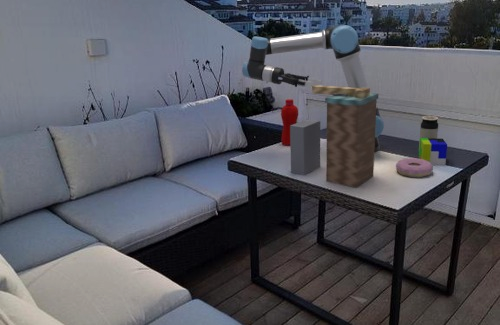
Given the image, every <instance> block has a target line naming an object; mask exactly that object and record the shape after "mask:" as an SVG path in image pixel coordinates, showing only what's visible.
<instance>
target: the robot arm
mask: <svg viewBox="0 0 500 325" xmlns="http://www.w3.org/2000/svg"><path fill="white" fill-rule="evenodd" d="M313 49H314V50H317V49H324V50H332V51H333V54H334V57H335V59H336V60H337V61H339V62H340V65H341V68H342V71H343V75H344V78H345V81H346V85H347V87H349V88H369V86H368V82H367V78H366V74H365V72H364V69H363V66H362V62H361V59H360V53H361V46H360V44H359V34H358V32H357V30H355V29H354V28H353V27H352V26H350V25H348V24H338V25H337V26H333V27H330V28H324V29H322V31H317V32H310V33H302V34H295V35H287V36H280V37H274V38H266V37H261V36H253V37H252V38H251V43H250V51H249V59H248V60H246V61H244V63H243V64H242V67H241V68H242V69H241V73H242V76H244V77H246V78H249V79H251V80H258V81H263V82H265V84H268V83H272V84H275V85H281V84H282V83H285V84H288V85H291V86H294V87H295V88H297V87H298V86H299V87H303V88H307V89H311V90H312V86H315V85H320V86H322V79H317V78H312V77H310V75H307V76H303V75H297V74H291V73H290V72H289V73H288V72H287V73H285V69H284V68H281V67H276V66H272V65H268V64H265V62H266V57H267V55H273V54H274V55H275V54H276V55H277V54H281V53H282V54H284V53H285V54H286V53H291V52H298V51H299V52H300V51H307V50H313ZM384 124H385V123H384V120H383V119H382V117H381V114H380V110H379V107H378V105H377V104H376V126H375V149H374V153H376V152H378V151H380V141H379V138H378V136H379V137H380V135H381V134H382V132H383V131H384V129H385V125H384Z"/></svg>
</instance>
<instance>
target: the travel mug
mask: <svg viewBox="0 0 500 325" xmlns="http://www.w3.org/2000/svg"><path fill="white" fill-rule="evenodd" d="M421 119H422V121H421V123H420V128H419V129H420V130H419V139H420V138H438V136H439V135H438V132H439V123H438V120H439V117H437V116H433V115H424V116H421ZM418 144H419V145H418V148H419V147H420V140H419V143H418Z"/></svg>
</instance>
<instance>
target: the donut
mask: <svg viewBox="0 0 500 325" xmlns="http://www.w3.org/2000/svg"><path fill="white" fill-rule="evenodd" d="M433 166H434V165H431V163H430V162H428V161H426V160H423V159H419V158H415V157H410V158H402V159H400V160H398V161H397V162H396V163H395V169H396V171H397V173H399V174H400V175H402V176H405V177H409V178H424V177H426V176H429V175H430V174H432V172H433V170H434V168H433Z"/></svg>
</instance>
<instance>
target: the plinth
mask: <svg viewBox="0 0 500 325" xmlns="http://www.w3.org/2000/svg"><path fill="white" fill-rule="evenodd" d="M320 167H321V120H316V119H309V118H307V119H304V120H302V121H299V122H297V123H296V124H293V125H290V173H292V174H295V175H296V174H297V175H300V176H305V175H307V174H310V173H311V172H313V171H315V170H316V169H318V168H320Z"/></svg>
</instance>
